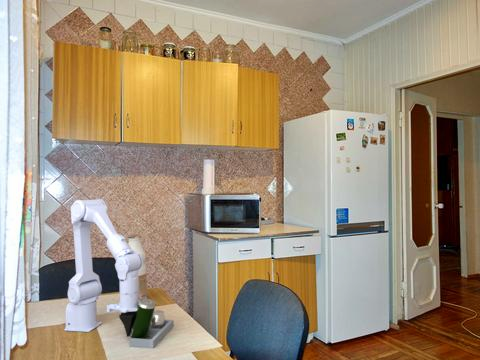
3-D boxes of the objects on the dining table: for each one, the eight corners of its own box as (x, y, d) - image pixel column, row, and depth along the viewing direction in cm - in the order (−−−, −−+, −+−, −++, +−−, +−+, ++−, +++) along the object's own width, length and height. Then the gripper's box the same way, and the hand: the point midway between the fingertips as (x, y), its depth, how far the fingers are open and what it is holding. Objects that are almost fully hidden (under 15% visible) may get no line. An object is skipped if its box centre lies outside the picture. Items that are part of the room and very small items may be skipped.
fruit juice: (123, 307, 146) (122, 237, 146) (122, 300, 155) (122, 234, 155) (147, 304, 149) (147, 235, 149) (145, 298, 158) (144, 233, 158)
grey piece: (129, 346, 110) (129, 339, 110) (152, 325, 127) (152, 318, 127) (153, 348, 109) (153, 340, 109) (173, 326, 126) (173, 320, 126)
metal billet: (146, 333, 120) (146, 315, 120) (152, 327, 125) (152, 310, 125) (160, 334, 119) (160, 316, 119) (166, 328, 124) (166, 310, 124)
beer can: (132, 343, 111) (141, 305, 111) (127, 334, 116) (136, 297, 115) (148, 342, 114) (158, 305, 114) (143, 333, 119) (152, 298, 118)
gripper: (101, 294, 113) (101, 339, 113) (145, 296, 110) (145, 342, 110) (113, 288, 120) (113, 330, 120) (154, 290, 117) (155, 332, 117)
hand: (129, 335), depth 115 cm, fingers closed, pressing on beer can
